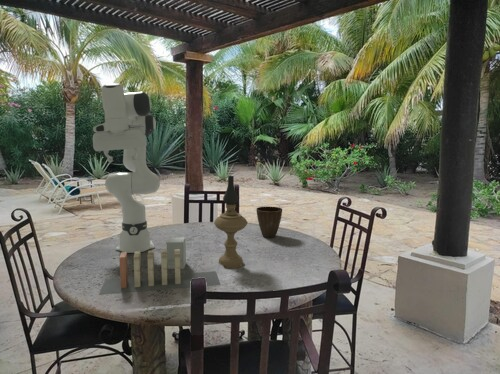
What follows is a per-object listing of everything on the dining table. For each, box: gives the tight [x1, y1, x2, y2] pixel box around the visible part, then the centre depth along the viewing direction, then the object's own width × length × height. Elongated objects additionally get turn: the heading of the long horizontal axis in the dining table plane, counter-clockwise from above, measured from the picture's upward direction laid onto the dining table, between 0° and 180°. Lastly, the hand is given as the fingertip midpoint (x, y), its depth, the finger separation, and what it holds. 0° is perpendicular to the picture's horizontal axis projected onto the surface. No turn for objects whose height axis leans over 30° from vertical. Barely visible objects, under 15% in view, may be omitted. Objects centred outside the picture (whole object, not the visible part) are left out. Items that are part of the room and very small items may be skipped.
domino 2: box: [133, 251, 142, 287], centre depth 139 cm, size 6×2×12 cm, turn 12°
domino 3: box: [147, 249, 155, 286], centre depth 140 cm, size 6×2×12 cm, turn 12°
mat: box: [98, 270, 221, 295], centre depth 142 cm, size 14×44×1 cm, turn 103°
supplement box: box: [165, 237, 187, 270], centre depth 159 cm, size 7×7×13 cm
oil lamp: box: [213, 175, 248, 269], centre depth 162 cm, size 15×15×40 cm
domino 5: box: [174, 249, 181, 284], centre depth 142 cm, size 6×2×12 cm, turn 13°
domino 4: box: [160, 249, 168, 285], centre depth 141 cm, size 6×2×12 cm, turn 13°
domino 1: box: [118, 251, 129, 288], centre depth 138 cm, size 6×2×12 cm, turn 12°
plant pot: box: [255, 206, 283, 239], centre depth 209 cm, size 15×15×16 cm
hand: (122, 160), depth 146 cm, fingers open, 8 cm apart
